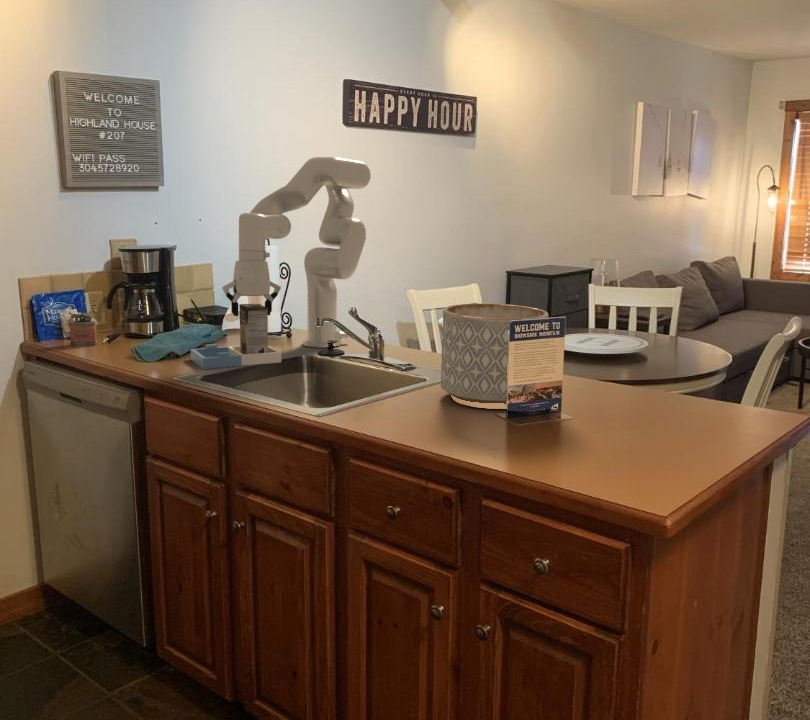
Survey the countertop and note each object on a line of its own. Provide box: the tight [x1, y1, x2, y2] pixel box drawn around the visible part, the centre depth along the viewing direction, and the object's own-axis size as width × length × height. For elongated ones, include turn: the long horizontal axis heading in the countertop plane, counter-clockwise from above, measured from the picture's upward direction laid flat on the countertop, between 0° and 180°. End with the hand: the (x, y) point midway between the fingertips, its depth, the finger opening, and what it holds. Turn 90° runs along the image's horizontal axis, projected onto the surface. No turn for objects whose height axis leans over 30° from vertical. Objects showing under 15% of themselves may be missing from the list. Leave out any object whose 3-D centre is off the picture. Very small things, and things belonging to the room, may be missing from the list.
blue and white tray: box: [190, 343, 282, 370], centre depth 234 cm, size 23×14×4 cm, turn 119°
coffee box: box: [238, 303, 269, 355], centre depth 235 cm, size 9×6×16 cm
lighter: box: [68, 312, 98, 347], centre depth 250 cm, size 8×3×10 cm, turn 94°
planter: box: [440, 303, 549, 404], centre depth 196 cm, size 26×26×22 cm
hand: (251, 315), depth 233 cm, fingers open, 9 cm apart
